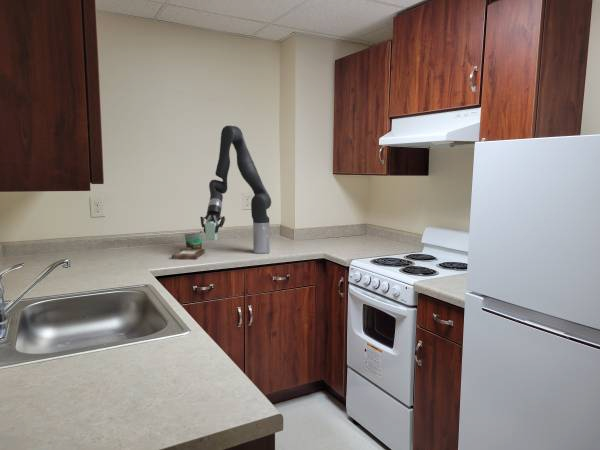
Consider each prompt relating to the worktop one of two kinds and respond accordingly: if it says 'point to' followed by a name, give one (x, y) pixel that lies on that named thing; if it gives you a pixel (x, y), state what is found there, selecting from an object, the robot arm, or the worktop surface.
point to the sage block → (210, 231)
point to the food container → (194, 240)
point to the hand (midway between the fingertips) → (210, 232)
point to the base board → (188, 254)
